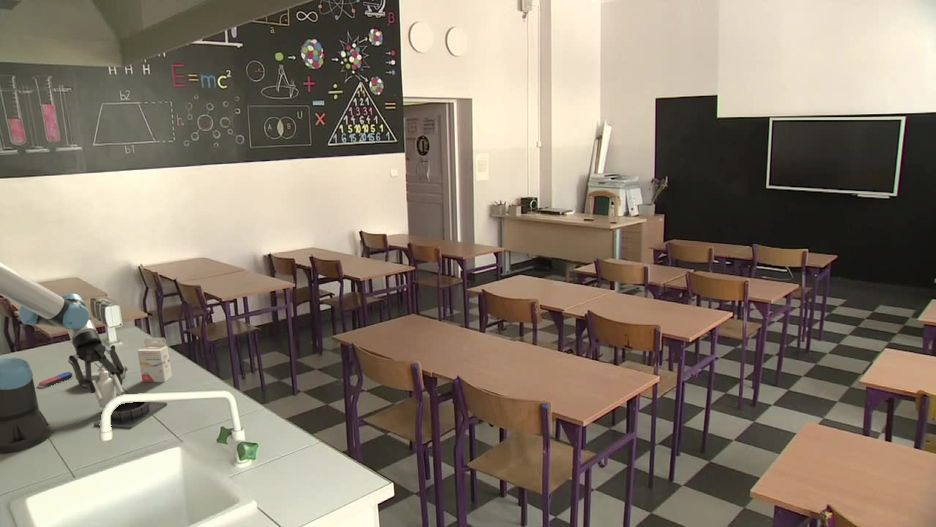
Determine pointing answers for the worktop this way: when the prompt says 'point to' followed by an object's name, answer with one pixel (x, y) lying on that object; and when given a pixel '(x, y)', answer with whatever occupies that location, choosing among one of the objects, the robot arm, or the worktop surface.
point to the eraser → (55, 380)
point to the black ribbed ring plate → (133, 413)
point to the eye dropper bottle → (106, 387)
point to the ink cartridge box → (154, 361)
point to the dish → (96, 374)
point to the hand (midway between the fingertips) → (111, 396)
